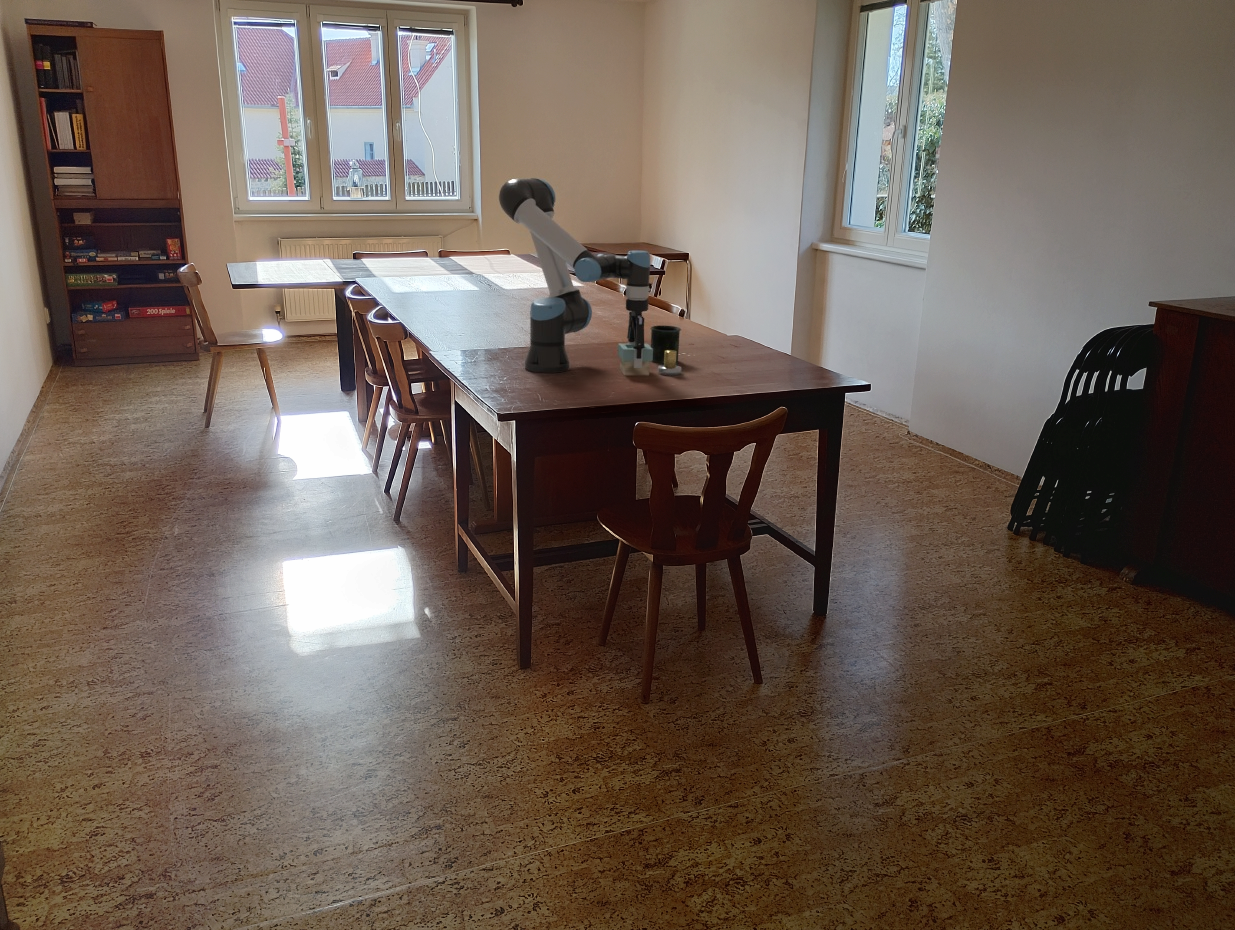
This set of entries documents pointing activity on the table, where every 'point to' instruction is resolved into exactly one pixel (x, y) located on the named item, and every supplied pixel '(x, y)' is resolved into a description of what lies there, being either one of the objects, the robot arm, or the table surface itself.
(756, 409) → the table surface
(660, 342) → the mug
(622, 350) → the teal square ring
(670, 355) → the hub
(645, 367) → the stand
